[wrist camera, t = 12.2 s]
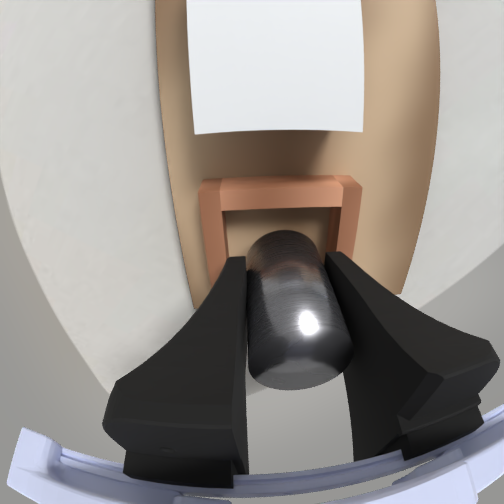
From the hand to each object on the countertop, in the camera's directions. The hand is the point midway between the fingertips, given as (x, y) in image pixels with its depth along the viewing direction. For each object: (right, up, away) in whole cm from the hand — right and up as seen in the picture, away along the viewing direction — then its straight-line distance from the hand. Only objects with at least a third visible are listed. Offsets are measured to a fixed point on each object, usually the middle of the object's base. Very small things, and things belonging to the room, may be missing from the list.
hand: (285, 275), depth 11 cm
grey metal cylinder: (0, 0, +1) cm, 1 cm away
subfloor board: (+1, +7, 0) cm, 7 cm away
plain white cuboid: (-1, +9, -3) cm, 9 cm away
